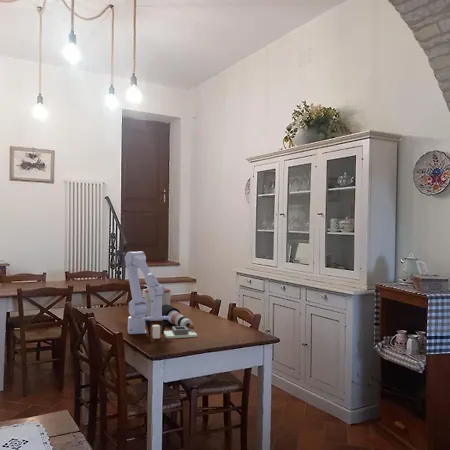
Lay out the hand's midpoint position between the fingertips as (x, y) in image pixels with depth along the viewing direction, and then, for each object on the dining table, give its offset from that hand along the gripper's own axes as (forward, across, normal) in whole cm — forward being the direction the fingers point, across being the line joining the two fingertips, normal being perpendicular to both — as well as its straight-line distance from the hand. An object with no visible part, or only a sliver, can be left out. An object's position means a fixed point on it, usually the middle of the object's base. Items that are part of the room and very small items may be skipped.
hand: (156, 334), depth 248 cm
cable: (+1, +15, +20) cm, 25 cm away
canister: (+2, +7, +52) cm, 52 cm away
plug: (+2, 0, 0) cm, 2 cm away
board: (+1, +13, +2) cm, 13 cm away
